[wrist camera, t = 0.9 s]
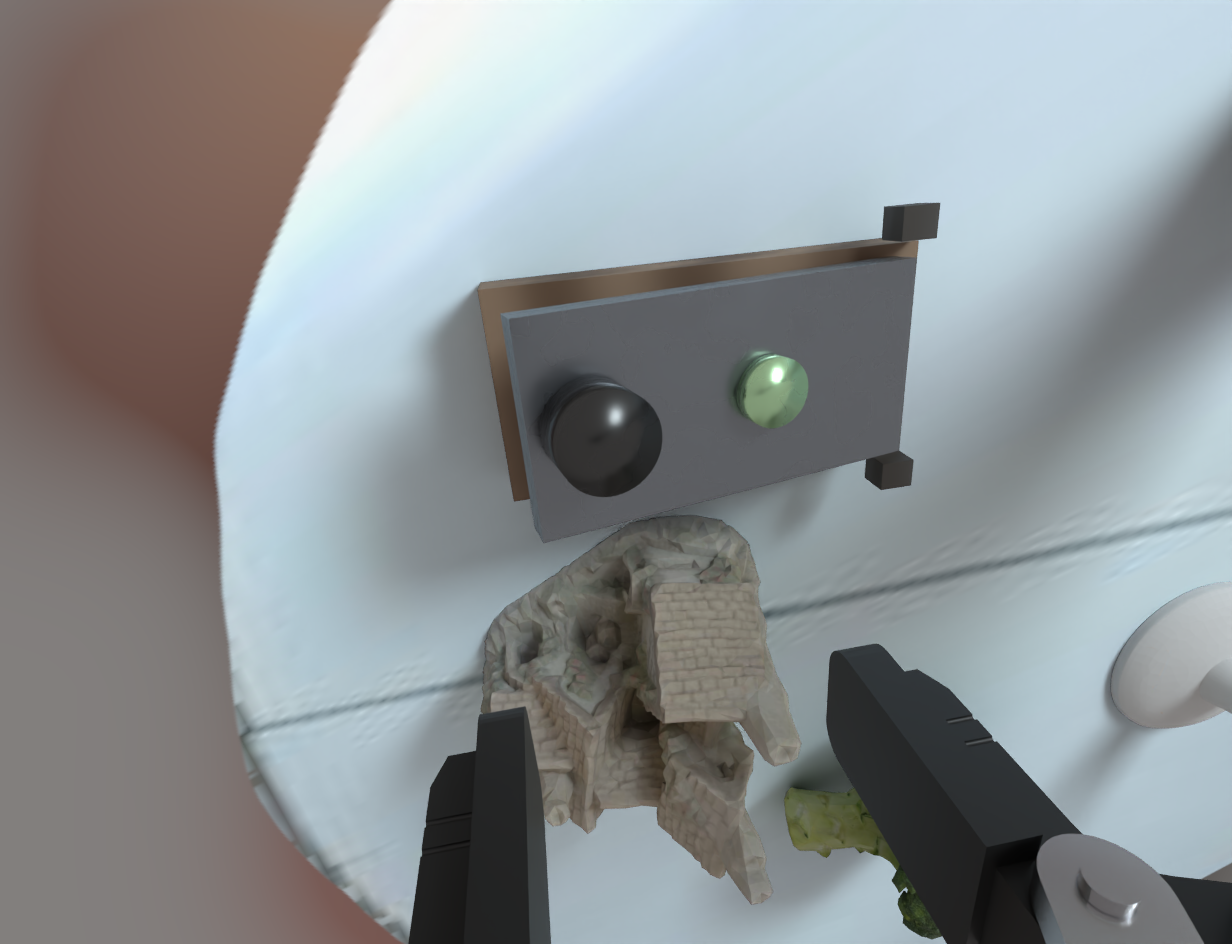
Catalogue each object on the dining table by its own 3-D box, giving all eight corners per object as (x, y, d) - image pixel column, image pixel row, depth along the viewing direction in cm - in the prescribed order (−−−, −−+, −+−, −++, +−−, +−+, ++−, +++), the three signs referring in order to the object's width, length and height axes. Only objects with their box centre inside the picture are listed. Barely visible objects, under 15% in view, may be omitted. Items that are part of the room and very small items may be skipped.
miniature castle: (786, 533, 37) (917, 730, 24) (694, 737, 43) (755, 988, 30) (528, 472, 34) (506, 655, 21) (467, 699, 40) (419, 958, 27)
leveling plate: (891, 256, 29) (963, 260, 25) (877, 441, 32) (938, 466, 29) (500, 313, 23) (524, 328, 20) (534, 527, 27) (559, 571, 23)
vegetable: (764, 739, 41) (1037, 751, 35) (793, 710, 52) (1002, 715, 46) (782, 955, 38) (1081, 1006, 32) (808, 874, 49) (1032, 901, 44)
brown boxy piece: (885, 203, 31) (944, 202, 27) (867, 452, 36) (914, 484, 32) (474, 246, 29) (468, 252, 25) (518, 504, 34) (519, 545, 30)
